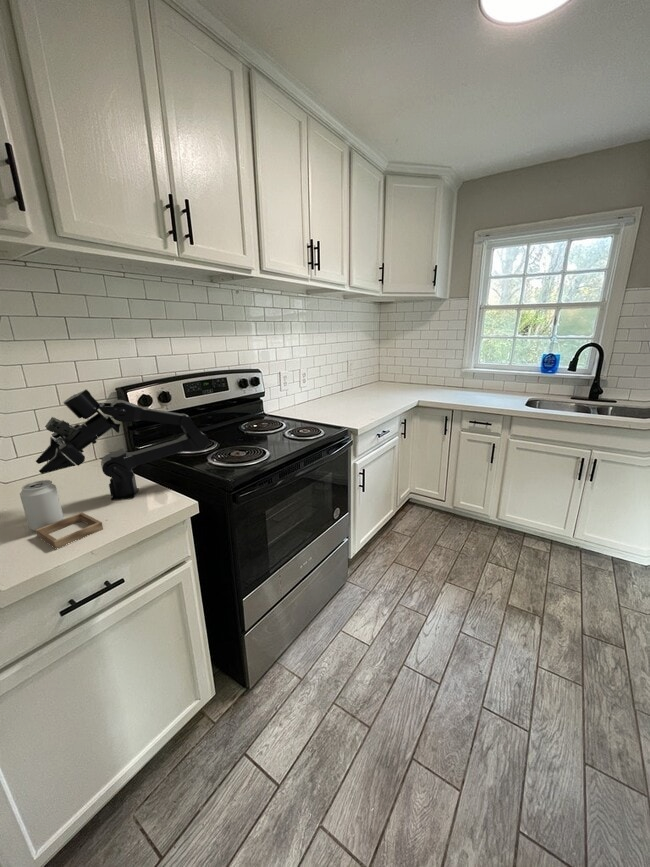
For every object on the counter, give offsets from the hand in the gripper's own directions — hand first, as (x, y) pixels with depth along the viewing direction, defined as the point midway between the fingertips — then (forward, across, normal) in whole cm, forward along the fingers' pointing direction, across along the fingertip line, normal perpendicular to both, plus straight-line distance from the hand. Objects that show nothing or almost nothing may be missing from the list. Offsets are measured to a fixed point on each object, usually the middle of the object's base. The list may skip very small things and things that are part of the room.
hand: (38, 467), depth 95 cm
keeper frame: (+5, +16, +13) cm, 21 cm away
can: (+8, +7, +12) cm, 16 cm away
